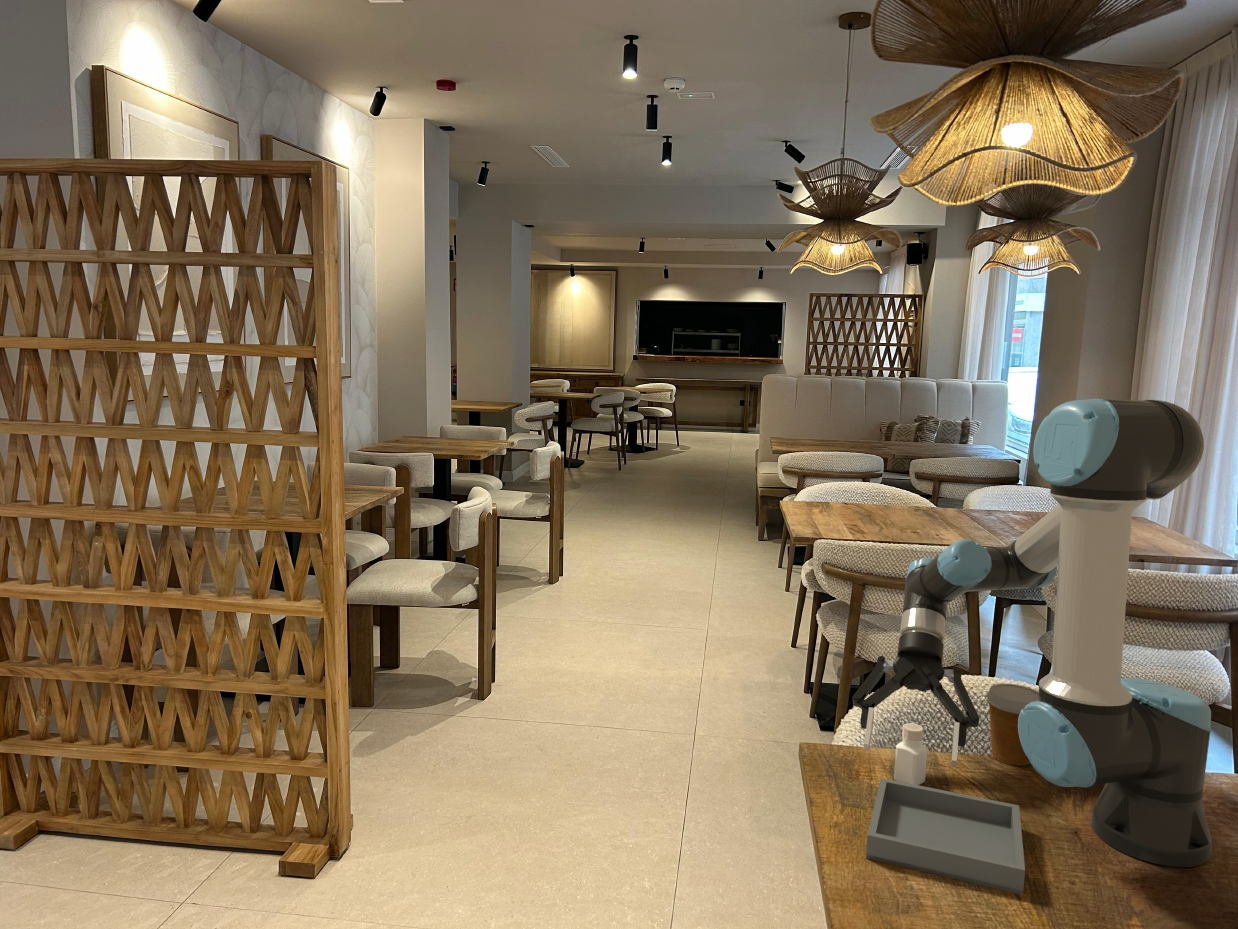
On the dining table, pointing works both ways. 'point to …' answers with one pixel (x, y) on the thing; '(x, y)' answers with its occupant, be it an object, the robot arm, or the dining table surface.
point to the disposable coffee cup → (1008, 721)
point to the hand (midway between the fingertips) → (909, 755)
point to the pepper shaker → (911, 756)
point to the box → (948, 835)
